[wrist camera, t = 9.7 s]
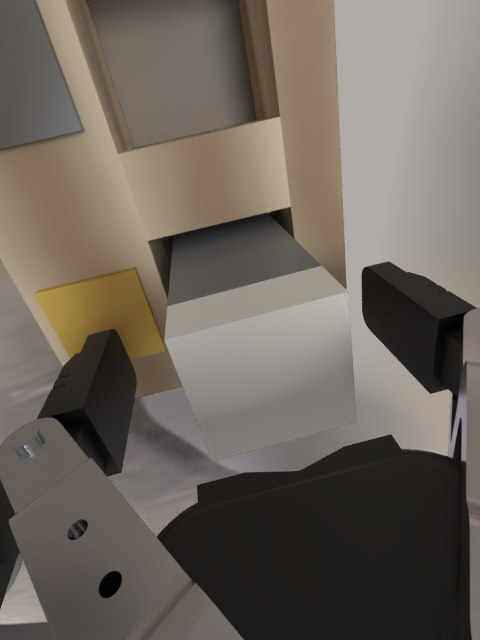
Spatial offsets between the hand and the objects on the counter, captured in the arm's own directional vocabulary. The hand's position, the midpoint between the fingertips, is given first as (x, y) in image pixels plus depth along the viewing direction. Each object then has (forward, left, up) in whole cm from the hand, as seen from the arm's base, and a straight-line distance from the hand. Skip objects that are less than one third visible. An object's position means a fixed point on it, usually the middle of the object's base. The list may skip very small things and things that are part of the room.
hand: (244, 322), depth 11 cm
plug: (0, 0, -7) cm, 7 cm away
